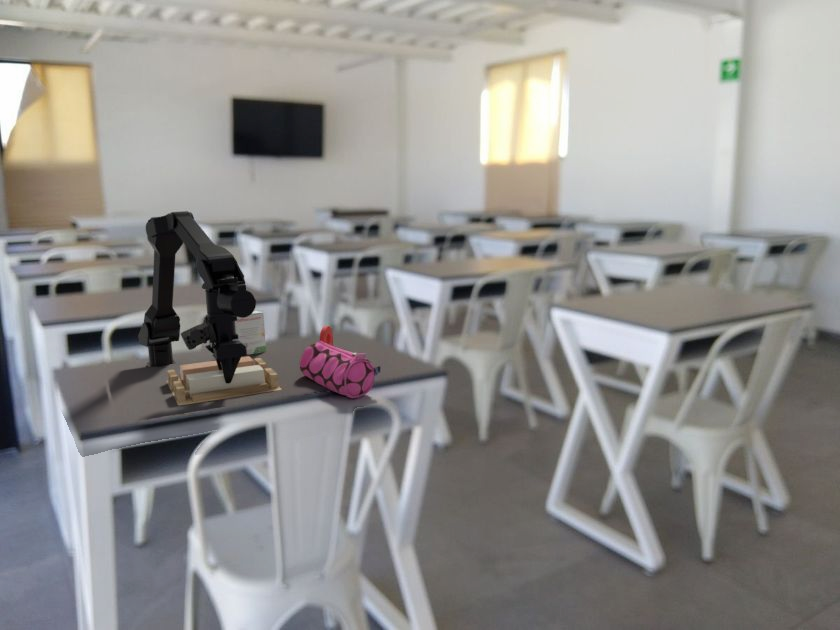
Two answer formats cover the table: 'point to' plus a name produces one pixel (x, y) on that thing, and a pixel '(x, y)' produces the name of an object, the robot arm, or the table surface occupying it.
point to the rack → (184, 398)
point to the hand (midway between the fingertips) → (226, 380)
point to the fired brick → (209, 367)
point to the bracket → (326, 335)
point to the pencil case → (338, 369)
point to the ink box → (252, 332)
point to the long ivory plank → (217, 381)
